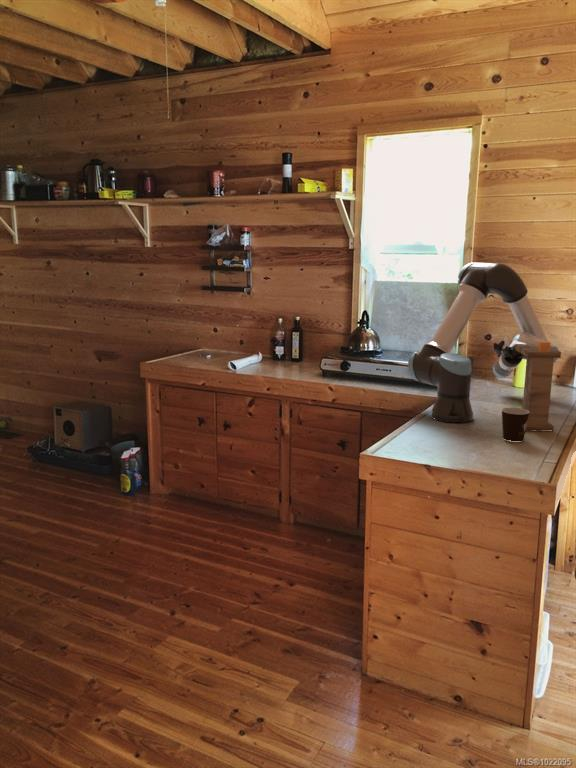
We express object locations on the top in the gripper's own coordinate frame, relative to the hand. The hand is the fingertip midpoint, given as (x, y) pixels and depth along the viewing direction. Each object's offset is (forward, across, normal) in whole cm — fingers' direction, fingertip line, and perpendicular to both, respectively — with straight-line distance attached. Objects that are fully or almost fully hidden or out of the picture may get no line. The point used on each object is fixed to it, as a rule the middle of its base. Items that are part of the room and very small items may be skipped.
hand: (526, 339), depth 245 cm
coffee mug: (+15, +11, -42) cm, 46 cm away
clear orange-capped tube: (+10, +1, -6) cm, 11 cm away
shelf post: (0, +1, -33) cm, 33 cm away
